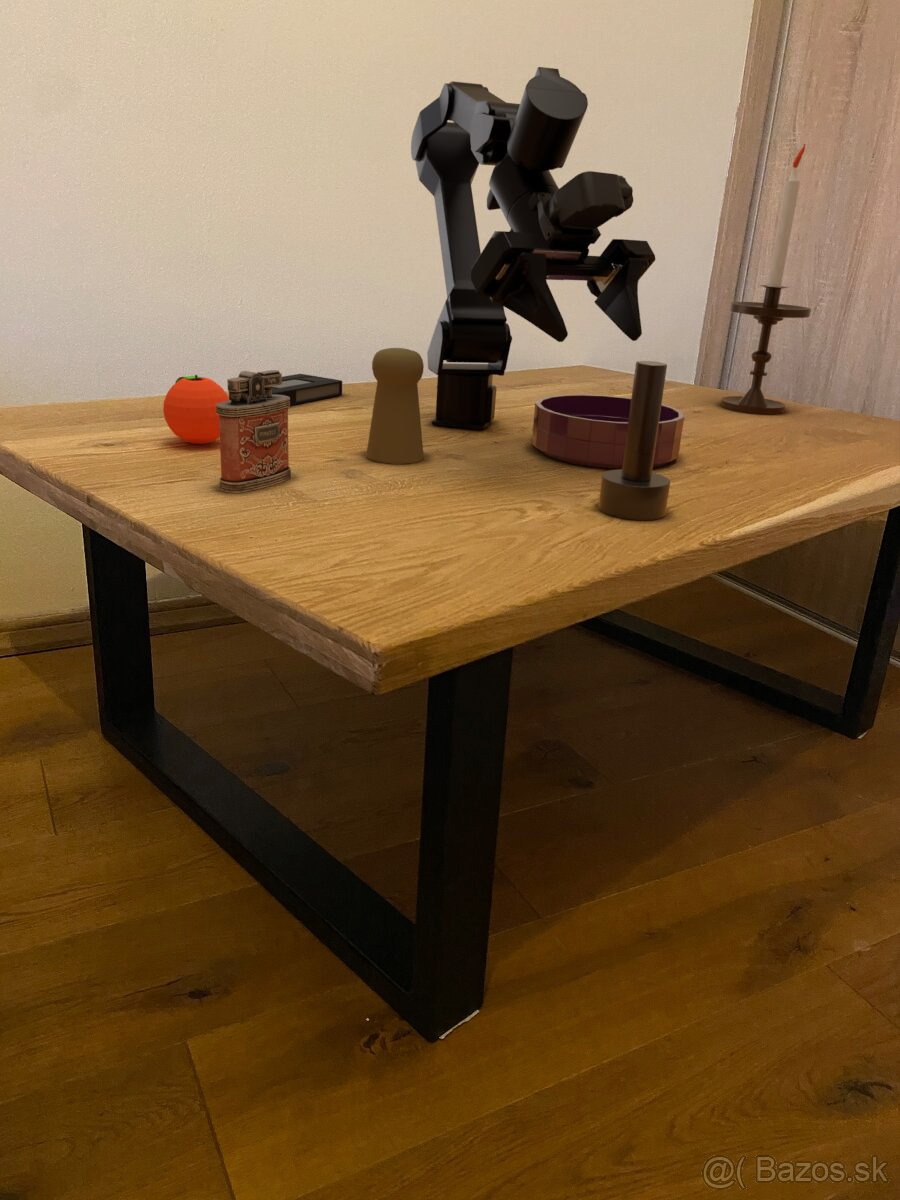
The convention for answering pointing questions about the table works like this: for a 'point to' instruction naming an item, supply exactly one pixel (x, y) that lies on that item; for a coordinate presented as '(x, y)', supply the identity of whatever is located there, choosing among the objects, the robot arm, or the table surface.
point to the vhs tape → (307, 388)
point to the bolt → (639, 453)
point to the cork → (396, 408)
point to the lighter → (253, 433)
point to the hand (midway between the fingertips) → (601, 338)
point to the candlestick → (770, 307)
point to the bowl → (598, 430)
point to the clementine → (194, 409)
